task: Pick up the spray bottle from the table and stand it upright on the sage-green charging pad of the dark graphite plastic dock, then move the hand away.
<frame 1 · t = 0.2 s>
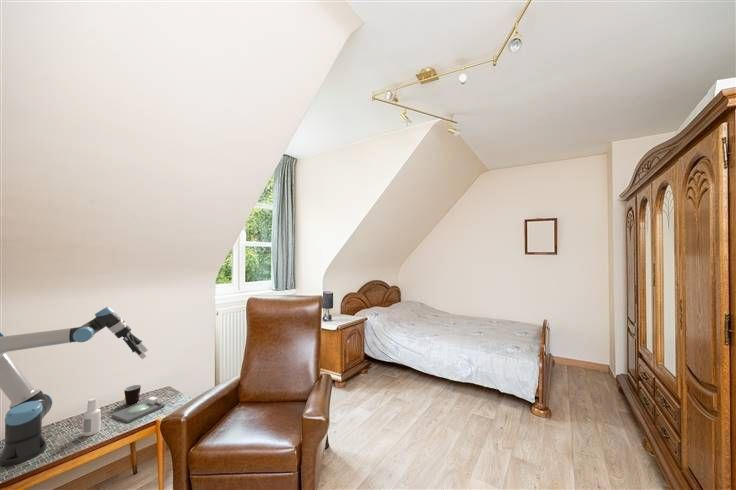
hand: (145, 354, 181), 35 cm above the table, tool tilted 35°, fingers open, 13 cm apart
coffee mug: (134, 402, 193), on the table
spray bottle: (92, 433, 159), on the table
charging dock: (138, 411, 180), on the table
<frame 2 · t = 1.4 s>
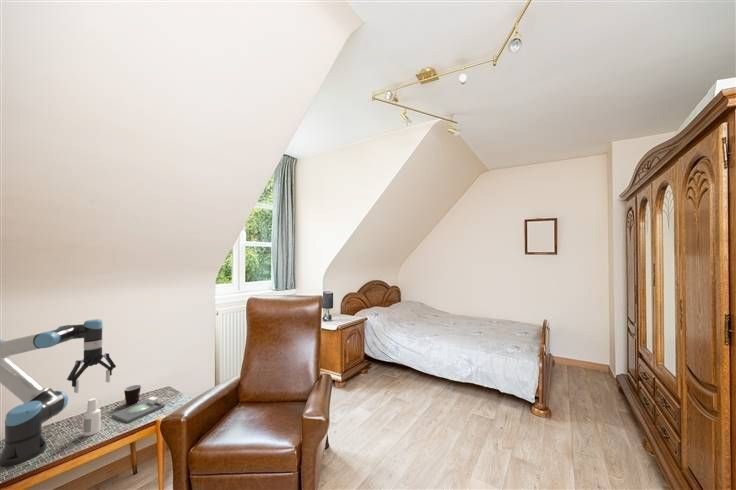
hand: (92, 387, 160), 25 cm above the table, tool pointing down, fingers open, 13 cm apart
nothing on the table moved.
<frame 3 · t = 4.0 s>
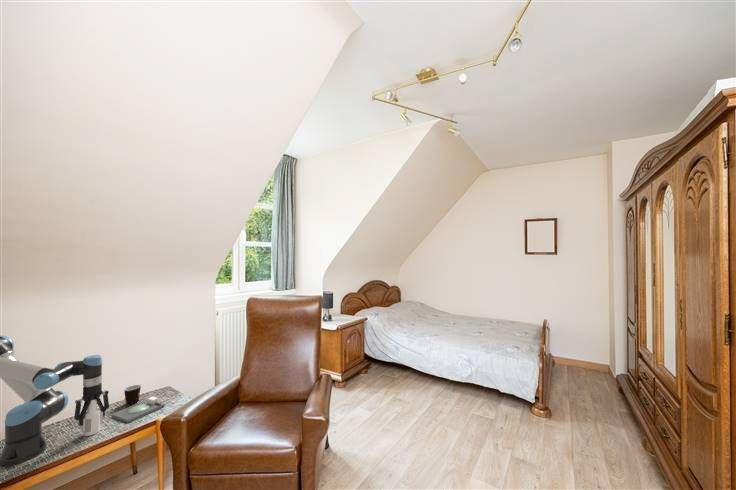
hand: (92, 427, 159), 3 cm above the table, tool pointing down, fingers closed on spray bottle, 7 cm apart
spray bottle: (92, 433, 159), on the table, touching gripper
everything else where it was.
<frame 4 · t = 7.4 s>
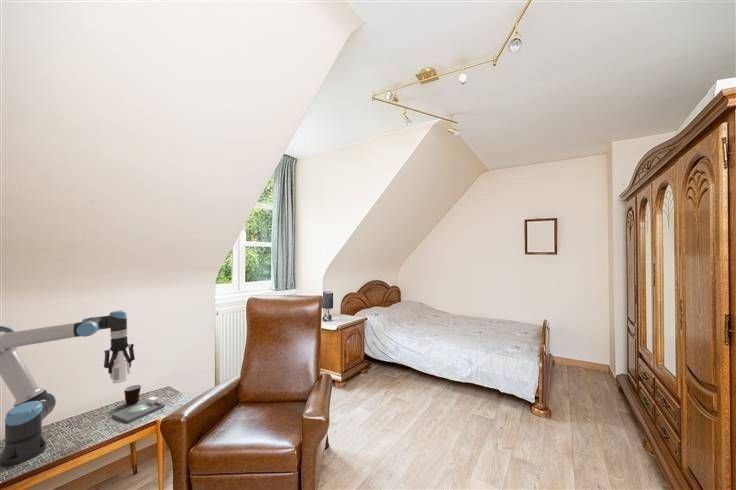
hand: (120, 376, 172), 26 cm above the table, tool pointing down, fingers closed on spray bottle, 7 cm apart
spray bottle: (120, 381, 172), point 23 cm above the table, touching gripper
everything else where it was.
when the fingers open (6 cm above the table, at t = 10.7 s): spray bottle drops 1 cm, resting on charging dock.
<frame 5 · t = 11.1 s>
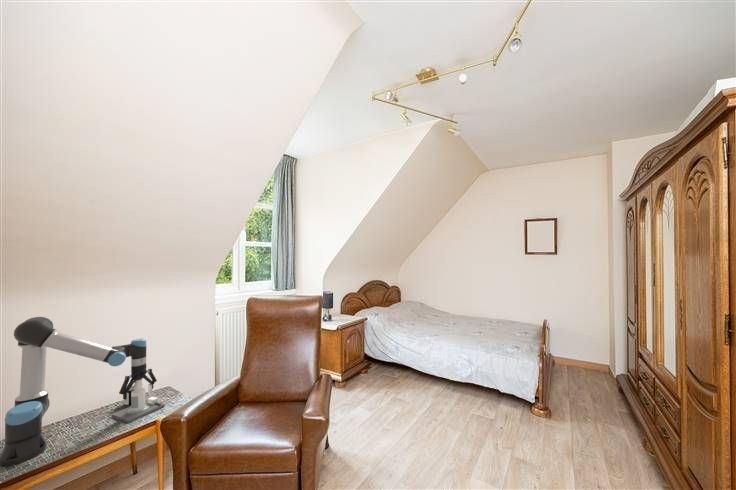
hand: (138, 399, 181), 7 cm above the table, tool pointing down, fingers open, 12 cm apart
spray bottle: (138, 409, 180), point 2 cm above the table, touching charging dock
everything else where it was.
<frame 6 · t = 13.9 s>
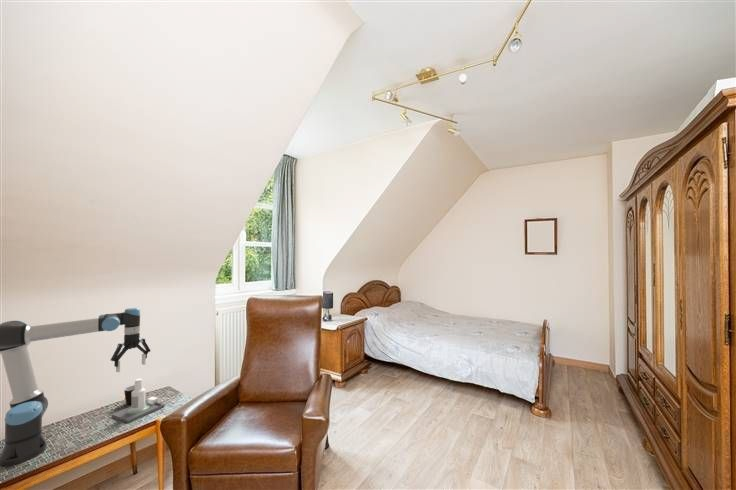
hand: (131, 367, 180), 27 cm above the table, tool pointing down, fingers open, 13 cm apart
nothing on the table moved.
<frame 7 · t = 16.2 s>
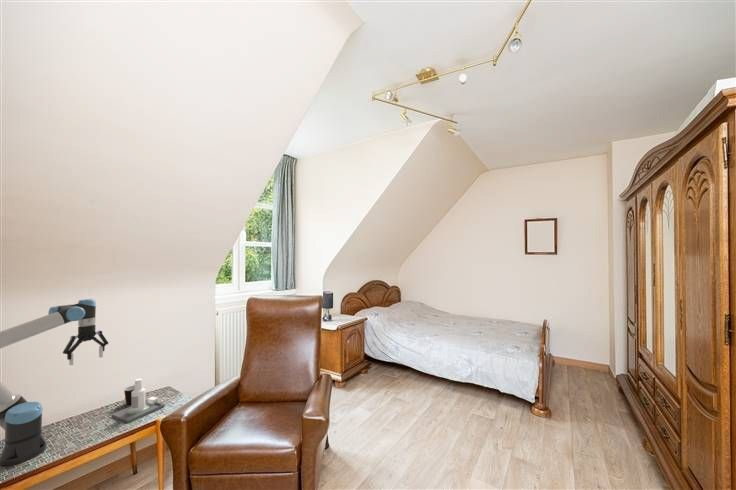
hand: (86, 360, 174), 35 cm above the table, tool pointing down, fingers open, 13 cm apart
nothing on the table moved.
at the end: spray bottle inside the target area on the charging dock (0.2 cm from its centre), point 1.5 cm above the charging dock's base; spray bottle tilted 0°; the gripper is holding nothing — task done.
